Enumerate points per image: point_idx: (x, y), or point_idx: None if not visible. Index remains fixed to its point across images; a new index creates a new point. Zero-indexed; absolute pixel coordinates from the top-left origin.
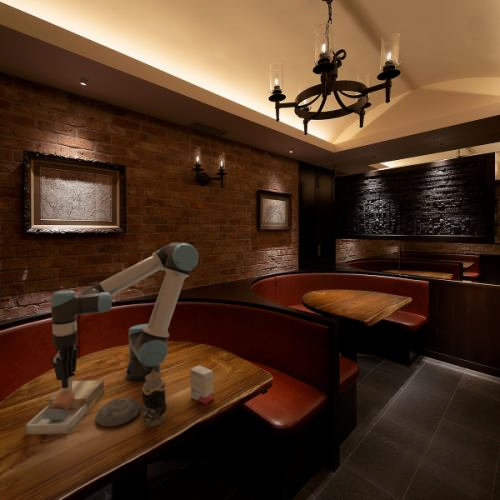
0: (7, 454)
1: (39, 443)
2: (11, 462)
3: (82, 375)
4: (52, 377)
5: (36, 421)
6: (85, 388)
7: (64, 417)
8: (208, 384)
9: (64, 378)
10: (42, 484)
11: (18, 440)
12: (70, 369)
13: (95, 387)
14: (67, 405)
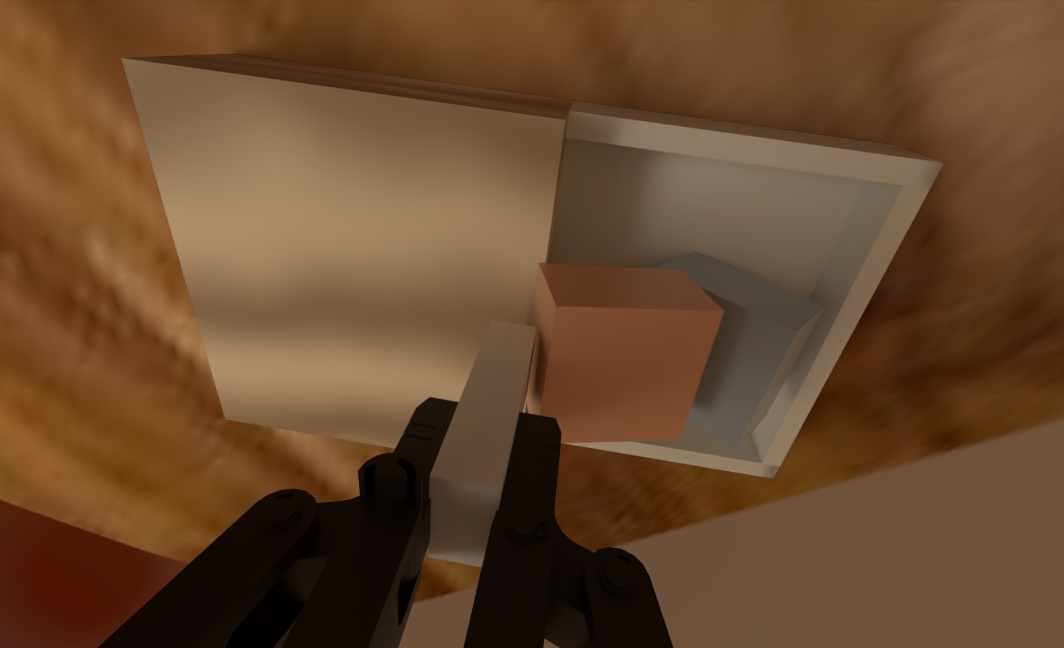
0: (938, 444)
1: (919, 315)
2: (1054, 396)
3: (56, 358)
4: (146, 509)
5: (685, 429)
6: (333, 227)
7: (698, 259)
8: None
9: (629, 582)
10: None
11: (807, 443)
12: (376, 627)
13: (300, 105)
14: (680, 285)
